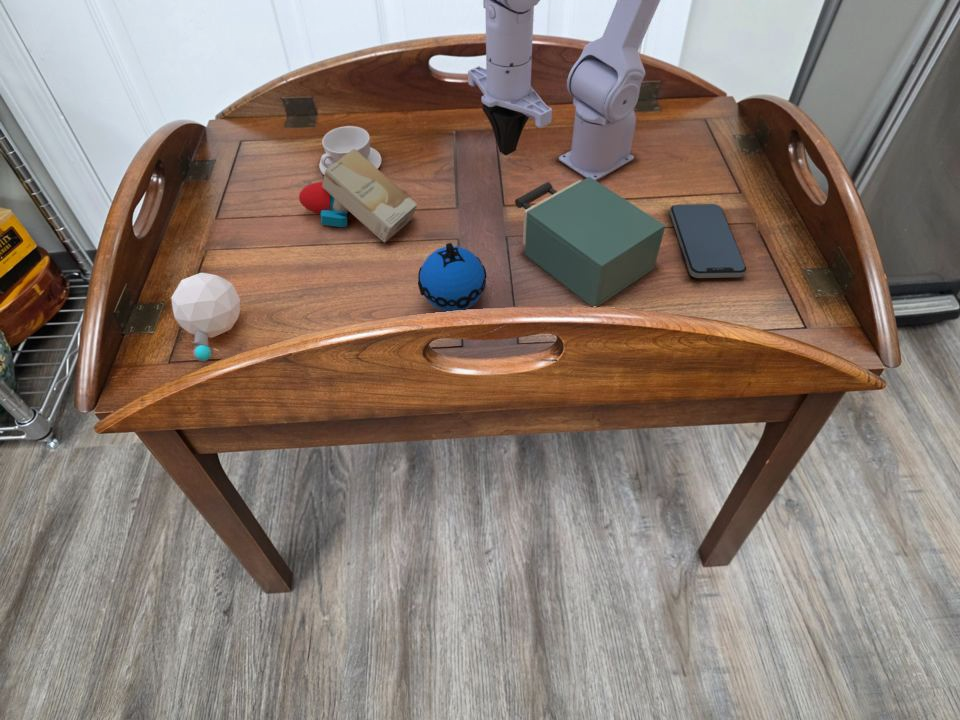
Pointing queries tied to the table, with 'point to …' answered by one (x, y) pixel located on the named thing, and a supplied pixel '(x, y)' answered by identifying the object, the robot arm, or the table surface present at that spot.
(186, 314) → the perfume bottle
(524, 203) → the drawer
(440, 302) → the ornament
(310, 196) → the toy figure
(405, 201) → the cosmetic box
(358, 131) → the teacup
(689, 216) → the smartphone
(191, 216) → the table surface
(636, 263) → the cabinet
